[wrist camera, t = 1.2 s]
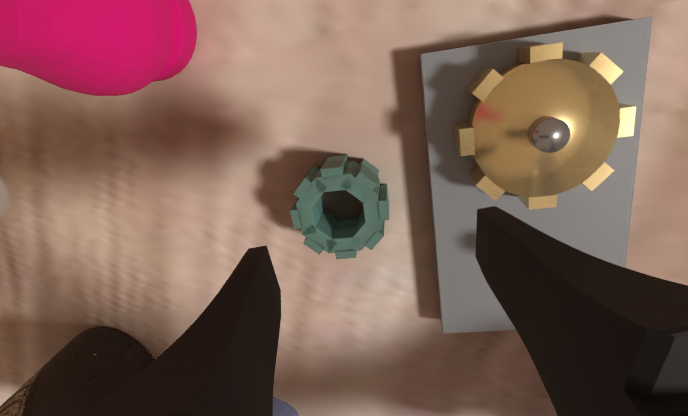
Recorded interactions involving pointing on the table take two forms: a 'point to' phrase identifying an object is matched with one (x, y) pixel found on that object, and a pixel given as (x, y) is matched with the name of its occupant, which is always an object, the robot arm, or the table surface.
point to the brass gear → (543, 124)
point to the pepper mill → (97, 42)
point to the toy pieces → (282, 408)
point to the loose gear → (328, 229)
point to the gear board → (465, 197)
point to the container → (80, 375)
